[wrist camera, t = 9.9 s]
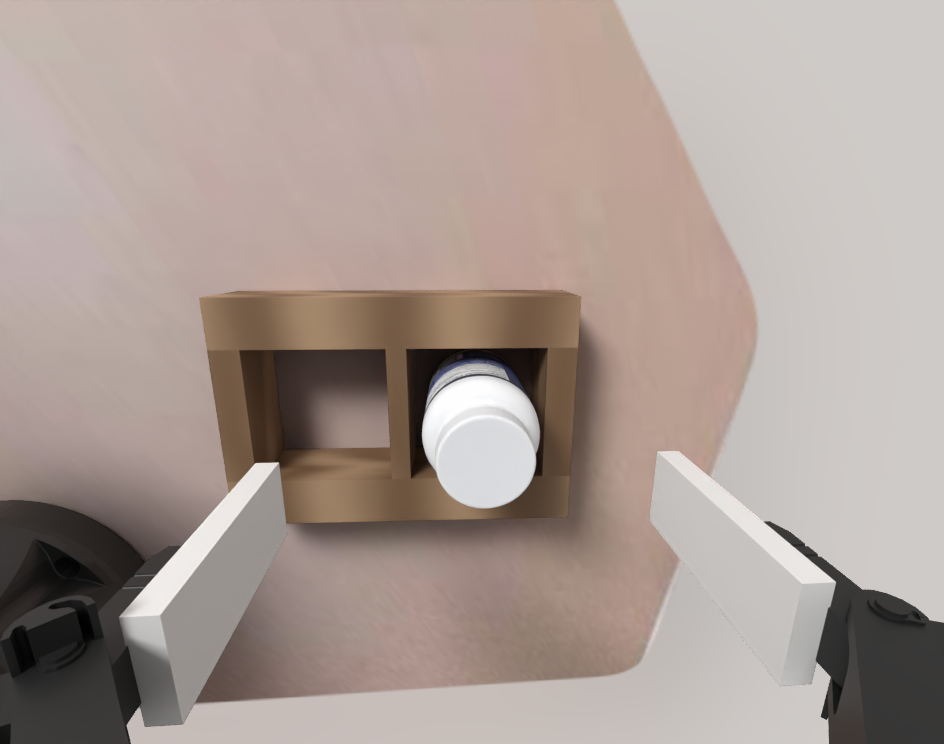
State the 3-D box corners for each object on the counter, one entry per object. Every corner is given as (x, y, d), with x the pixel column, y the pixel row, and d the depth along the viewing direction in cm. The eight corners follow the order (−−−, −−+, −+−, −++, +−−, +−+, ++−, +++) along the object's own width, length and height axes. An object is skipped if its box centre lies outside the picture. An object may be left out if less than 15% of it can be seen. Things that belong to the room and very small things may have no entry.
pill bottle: (517, 432, 28) (551, 524, 18) (430, 434, 27) (418, 528, 18) (520, 346, 26) (558, 398, 17) (427, 347, 26) (414, 400, 17)
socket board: (264, 487, 28) (233, 524, 24) (238, 291, 25) (199, 298, 21) (552, 481, 29) (567, 517, 25) (561, 290, 26) (581, 296, 22)
